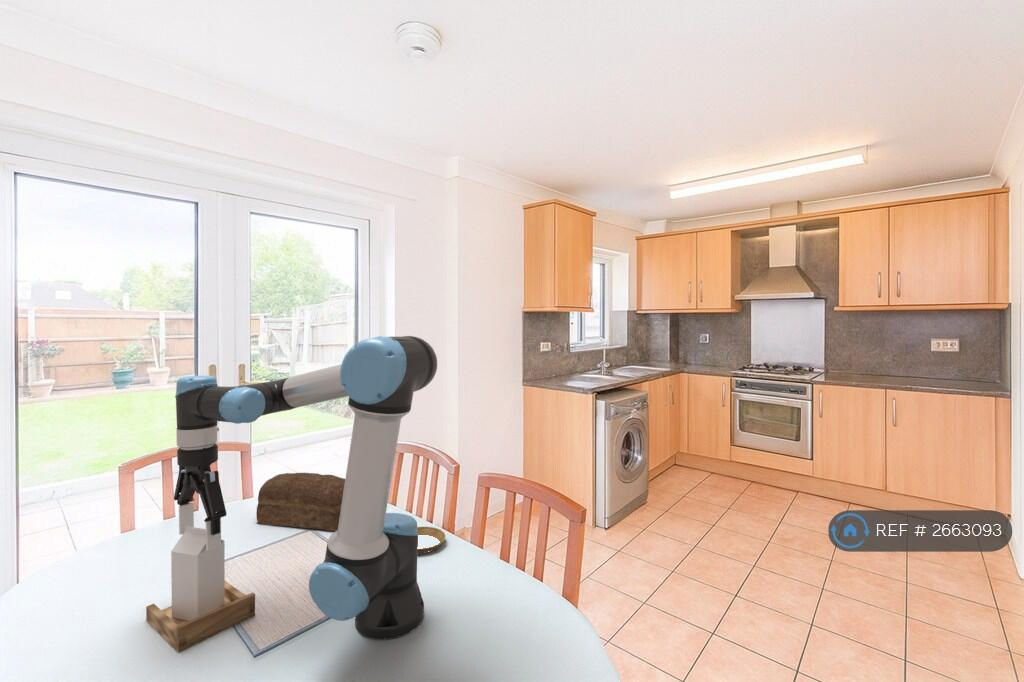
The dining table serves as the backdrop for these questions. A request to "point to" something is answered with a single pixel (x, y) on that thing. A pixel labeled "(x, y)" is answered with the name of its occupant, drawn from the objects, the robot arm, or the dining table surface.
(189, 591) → the milk carton
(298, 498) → the bread
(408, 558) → the robot arm
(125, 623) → the dining table surface
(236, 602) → the wooden tray
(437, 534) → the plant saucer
